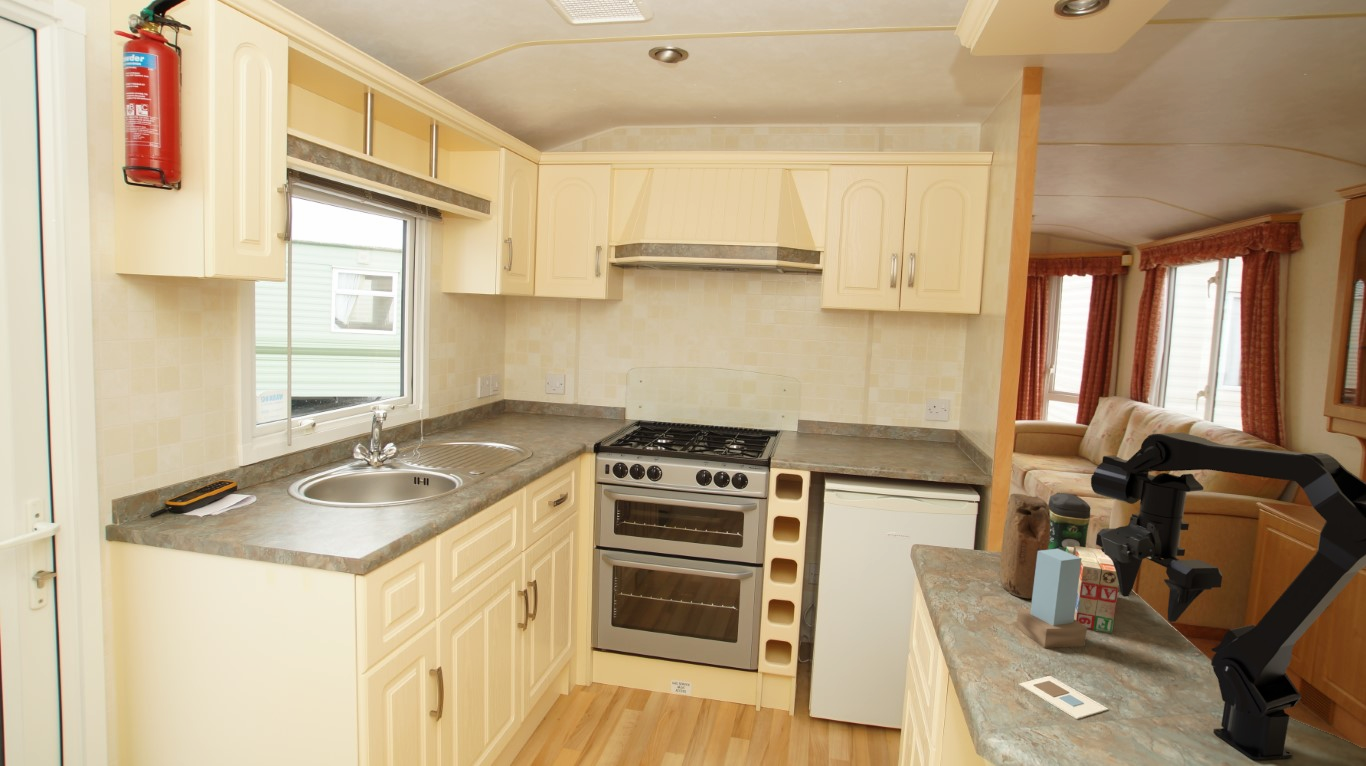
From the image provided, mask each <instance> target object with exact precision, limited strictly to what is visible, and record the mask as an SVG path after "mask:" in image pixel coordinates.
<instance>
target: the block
mask: <svg viewBox="0 0 1366 766" xmlns="http://www.w3.org/2000/svg"><path fill="white" fill-rule="evenodd" d="M1005 514H1006V515H1005V521H1004V528H1003V534H1002V535H1003V536H1002V543H1001V544H1002V545H1001V553H1000V562H999V582H1000V585H1001V587H1002V588H1003V589H1004V590H1006V591H1007V592H1008V593H1010V594H1011V595H1012V596H1015V597H1019V598H1023V599H1032V595H1033V587H1034V578H1035V570H1036V561H1037V553H1038V551H1041V550H1048V547H1049V539H1050V524H1051V523H1050V510H1049V506H1048V503H1046V501H1045V500H1044V499H1042V498H1041V497H1038V496H1031V495H1027V494H1022V493H1011V494H1010V495H1009V498H1008V503H1007V509H1006V513H1005Z"/></svg>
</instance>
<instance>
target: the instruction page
mask: <svg viewBox="0 0 1366 766" xmlns="http://www.w3.org/2000/svg"><path fill="white" fill-rule="evenodd" d="M1019 686H1021V687H1022V688H1024V689H1025V690H1027V691H1029V692H1031V693H1032V694H1034V695H1036V696H1037V697H1039V698H1040V699H1043V700H1044V701H1045V702H1047V703H1049V704H1051V705H1052V706H1054V707H1055V708H1057V709H1058V710H1061V711H1062V712H1064V713H1065V714H1067V715H1069V716H1071V717H1072V718H1074V719H1075V720H1080V719H1082V718H1085V717H1088V716H1092V715H1096V714H1099V713H1102V712H1105V711H1109V708H1107V707H1106V706H1104V705H1102V704H1101V703H1099V702H1098V701H1095V700H1094V699H1092V698H1090V697H1088V696H1087V695H1085V694H1083V693H1081V692H1080V691H1078V690H1076V689H1074V688H1073V687H1071V686H1069V685H1067V684H1065V683H1063V682H1062V681H1060V680H1059V679H1057V678H1055V677H1053V676H1051V675H1048V676H1043V677H1039V678H1035V679H1032V680H1028V681H1023V682H1019Z"/></svg>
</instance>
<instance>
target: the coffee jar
mask: <svg viewBox="0 0 1366 766" xmlns="http://www.w3.org/2000/svg"><path fill="white" fill-rule="evenodd" d="M1048 499H1049V500H1048V503H1047V505H1048V506H1049V510H1050V523H1051V524H1050V539H1049V547H1048V550H1050V549H1060V550H1063V551H1065V552H1066V546H1067V547H1074V546H1079V547H1085V548H1087V538H1088V537H1087V536H1088V531H1089V530H1088V529H1089V525H1090V520H1091V519H1090V518H1091V509H1092V508H1091V506H1090V505H1089V504H1088V502H1087V501H1085V500H1084V499H1082V498H1081V497H1079V496H1078V495H1077V494H1074V493H1067V492H1066V493H1065V492H1056V493H1053V494H1052V495H1051V496H1050V497H1049V498H1048Z"/></svg>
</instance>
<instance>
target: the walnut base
mask: <svg viewBox="0 0 1366 766" xmlns="http://www.w3.org/2000/svg"><path fill="white" fill-rule="evenodd" d="M1030 612H1031V608H1018V609H1017V617H1016V625H1015V626H1016V628H1017V629H1018V630H1019V631H1020V632H1022V633H1023V634H1025V635H1027V637H1029V638H1030V639H1032V640H1033V641H1035V642H1036V643H1037V644H1039V645H1040V646H1041V647H1043V648H1044V649H1046V648H1047V649H1049V648H1071V647H1073V648H1075V647H1085V645H1086V638H1087V631H1088V629H1087V627H1085V626H1084V625H1082V624H1081V623H1079V622H1078V621H1076V620H1074V622H1073V623H1067V624H1061V625H1055V626H1053V625H1051V624H1049V623H1047V622H1045V621H1043V620H1041V619H1039V618H1037V617H1035V616H1033V615H1031V614H1030Z"/></svg>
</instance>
